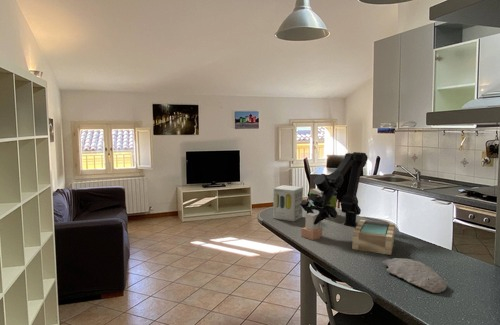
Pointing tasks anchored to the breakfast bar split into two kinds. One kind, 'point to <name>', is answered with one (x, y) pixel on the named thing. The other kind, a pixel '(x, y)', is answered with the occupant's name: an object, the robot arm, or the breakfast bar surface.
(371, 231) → the trapdoor
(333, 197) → the tea box
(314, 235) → the plinth
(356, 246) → the trapdoor box
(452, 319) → the breakfast bar surface
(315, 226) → the stone pillar
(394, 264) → the stone
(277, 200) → the supplement box
